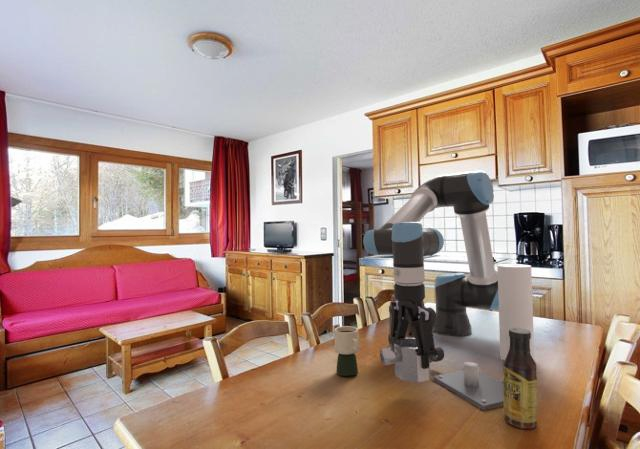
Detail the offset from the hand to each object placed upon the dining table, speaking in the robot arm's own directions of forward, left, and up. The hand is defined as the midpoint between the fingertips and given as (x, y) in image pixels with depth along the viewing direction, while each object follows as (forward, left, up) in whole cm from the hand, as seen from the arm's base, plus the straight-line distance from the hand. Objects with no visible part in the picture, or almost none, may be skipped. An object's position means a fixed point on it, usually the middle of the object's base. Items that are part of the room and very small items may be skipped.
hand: (412, 373), depth 88 cm
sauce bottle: (+19, +14, -6) cm, 24 cm away
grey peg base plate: (+3, +18, -6) cm, 19 cm away
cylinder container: (-8, +45, -6) cm, 46 cm away
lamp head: (0, -2, 0) cm, 2 cm away
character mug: (-19, -9, -6) cm, 22 cm away
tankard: (-21, +16, -6) cm, 27 cm away
